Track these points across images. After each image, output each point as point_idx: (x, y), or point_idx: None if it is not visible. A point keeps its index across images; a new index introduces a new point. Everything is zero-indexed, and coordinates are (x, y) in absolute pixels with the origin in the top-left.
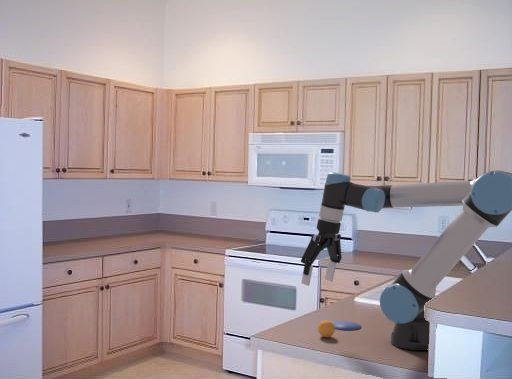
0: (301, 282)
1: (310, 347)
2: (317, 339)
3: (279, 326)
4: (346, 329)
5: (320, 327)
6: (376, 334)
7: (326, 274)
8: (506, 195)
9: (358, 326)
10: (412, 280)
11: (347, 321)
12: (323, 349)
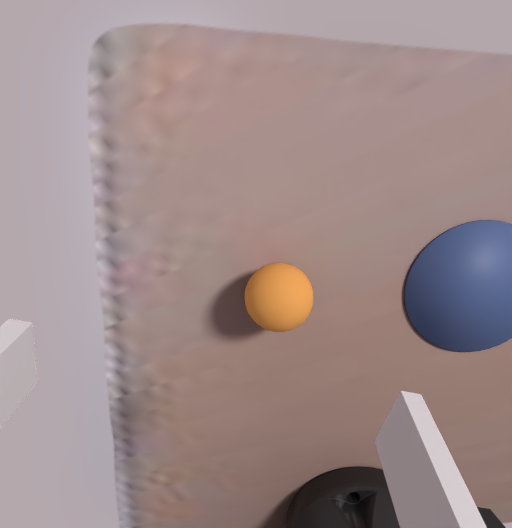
0: (5, 323)
1: (125, 285)
2: (229, 270)
3: (317, 43)
4: (415, 316)
5: (249, 285)
6: None
7: (416, 438)
8: None
9: (482, 339)
10: None
11: None
12: (135, 328)
